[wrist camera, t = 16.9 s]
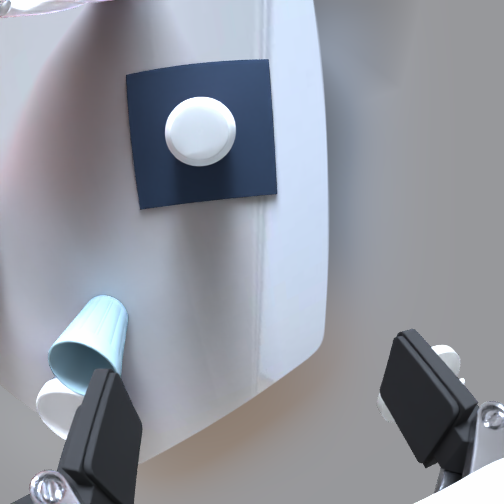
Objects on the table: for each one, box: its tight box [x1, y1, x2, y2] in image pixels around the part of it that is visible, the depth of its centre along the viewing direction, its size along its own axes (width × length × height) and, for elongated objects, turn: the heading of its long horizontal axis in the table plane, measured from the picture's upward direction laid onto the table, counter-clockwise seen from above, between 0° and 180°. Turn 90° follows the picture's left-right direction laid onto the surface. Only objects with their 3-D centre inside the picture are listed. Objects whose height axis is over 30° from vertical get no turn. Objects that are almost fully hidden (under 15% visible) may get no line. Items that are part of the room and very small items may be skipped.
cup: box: [48, 295, 128, 396], centre depth 29 cm, size 8×8×10 cm
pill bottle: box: [165, 97, 236, 166], centre depth 23 cm, size 5×5×10 cm
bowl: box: [36, 377, 84, 441], centre depth 34 cm, size 14×14×8 cm
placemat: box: [126, 59, 277, 210], centre depth 28 cm, size 14×14×1 cm
